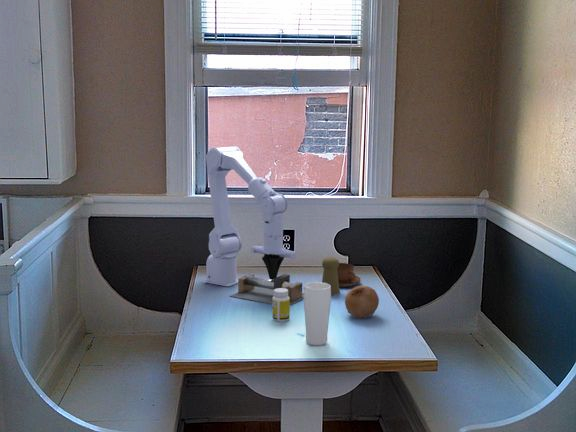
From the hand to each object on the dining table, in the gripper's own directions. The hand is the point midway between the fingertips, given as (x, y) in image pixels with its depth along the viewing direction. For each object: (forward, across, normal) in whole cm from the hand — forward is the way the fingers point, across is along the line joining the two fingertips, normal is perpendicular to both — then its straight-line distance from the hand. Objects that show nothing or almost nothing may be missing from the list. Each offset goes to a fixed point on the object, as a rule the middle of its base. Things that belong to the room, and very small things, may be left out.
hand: (273, 278), depth 222 cm
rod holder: (+6, -1, 0) cm, 6 cm away
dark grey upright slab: (+6, +3, 0) cm, 6 cm away
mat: (+6, -1, 0) cm, 6 cm away
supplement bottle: (+6, +13, -17) cm, 22 cm away
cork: (+6, +13, +13) cm, 19 cm away
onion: (+6, +31, -3) cm, 32 cm away
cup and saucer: (+6, +12, +24) cm, 27 cm away
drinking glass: (+6, +30, -28) cm, 41 cm away
